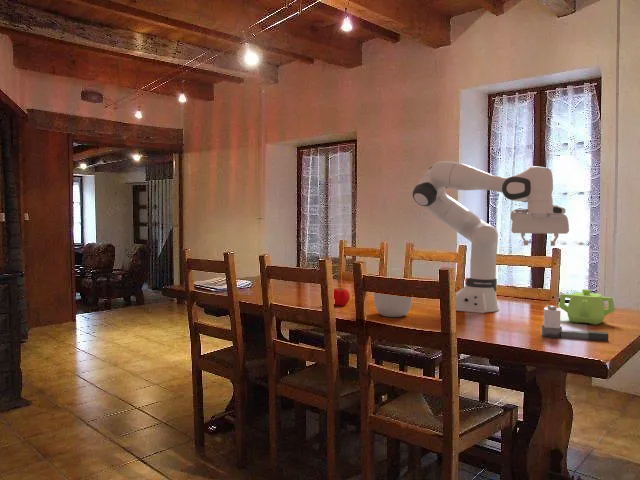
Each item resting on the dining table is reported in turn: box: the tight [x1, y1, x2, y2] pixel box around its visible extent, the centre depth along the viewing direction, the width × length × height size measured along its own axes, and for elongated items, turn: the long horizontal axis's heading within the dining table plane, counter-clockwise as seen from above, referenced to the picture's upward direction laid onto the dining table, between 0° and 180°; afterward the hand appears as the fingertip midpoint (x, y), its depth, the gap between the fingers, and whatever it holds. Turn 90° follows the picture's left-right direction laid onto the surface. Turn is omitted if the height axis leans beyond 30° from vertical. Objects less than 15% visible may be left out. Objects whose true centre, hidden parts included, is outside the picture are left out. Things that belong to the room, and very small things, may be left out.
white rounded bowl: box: [373, 292, 413, 318], centre depth 225 cm, size 17×17×15 cm
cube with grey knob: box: [543, 305, 561, 328], centre depth 186 cm, size 5×5×7 cm
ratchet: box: [541, 324, 609, 342], centre depth 184 cm, size 21×6×8 cm, turn 70°
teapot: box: [558, 288, 616, 326], centre depth 209 cm, size 18×20×13 cm
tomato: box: [333, 287, 351, 307], centre depth 250 cm, size 9×10×8 cm
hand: (539, 245), depth 201 cm, fingers open, 8 cm apart
